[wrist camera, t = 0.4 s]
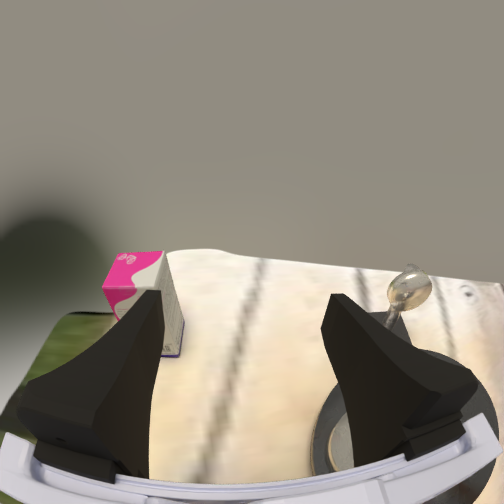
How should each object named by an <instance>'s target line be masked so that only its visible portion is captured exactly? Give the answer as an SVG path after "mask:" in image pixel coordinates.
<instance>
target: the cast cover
mask: <svg viewBox="0 0 504 504" xmlns="http://www.w3.org/2000/svg"><path fill="white" fill-rule="evenodd" d="M324 456H325V462H326V465H327V467H328V469H329V471H330V473H334V472H339V471H344V470H348V469H352V468H354V460H353V449H352V441H351V434H350V427H349V422H348V417H347V412H346V413H345V414H344V415H343V416H342V418H341V419H340V420H339V422H338V423H337V424H336V426H335V427H334V428H333V430H332V431H331V432H330V434H329V436H328V438H327V441H326V444H325V450H324Z"/></svg>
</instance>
